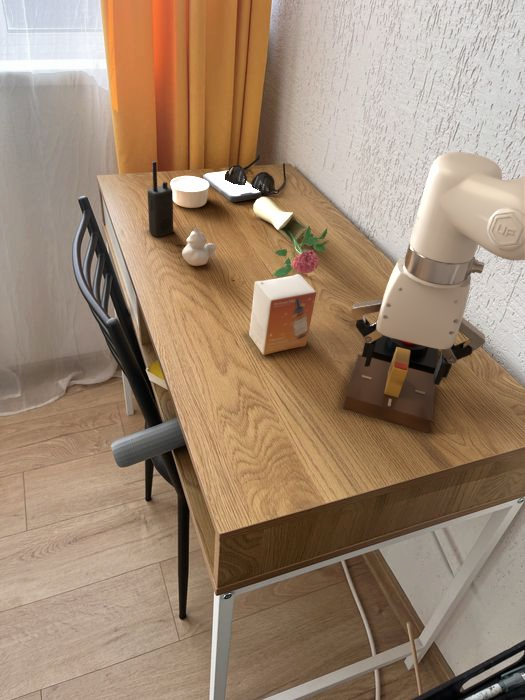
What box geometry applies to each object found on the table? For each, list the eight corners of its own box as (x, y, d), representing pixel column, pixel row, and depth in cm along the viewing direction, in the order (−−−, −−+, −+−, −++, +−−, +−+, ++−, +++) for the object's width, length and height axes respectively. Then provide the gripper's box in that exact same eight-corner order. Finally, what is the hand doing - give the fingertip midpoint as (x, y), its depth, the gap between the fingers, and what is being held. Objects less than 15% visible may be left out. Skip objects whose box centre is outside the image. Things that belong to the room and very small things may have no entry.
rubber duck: (179, 257, 103) (179, 219, 98) (212, 254, 105) (213, 217, 100) (185, 271, 99) (185, 233, 94) (219, 268, 101) (221, 230, 96)
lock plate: (431, 387, 80) (436, 374, 79) (427, 432, 73) (432, 419, 71) (354, 366, 83) (358, 353, 81) (342, 408, 75) (346, 395, 73)
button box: (435, 349, 88) (442, 330, 85) (432, 378, 82) (440, 359, 79) (376, 333, 90) (381, 314, 87) (369, 361, 84) (374, 342, 81)
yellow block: (388, 372, 78) (397, 345, 75) (401, 375, 78) (411, 348, 74) (384, 394, 74) (393, 366, 71) (398, 398, 74) (408, 370, 71)
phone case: (201, 179, 134) (231, 203, 124) (201, 173, 133) (232, 197, 123) (231, 175, 138) (263, 198, 128) (231, 169, 137) (263, 192, 127)
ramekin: (215, 199, 126) (216, 181, 123) (197, 212, 119) (198, 194, 116) (182, 190, 128) (182, 172, 125) (163, 203, 121) (163, 185, 118)
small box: (262, 356, 82) (269, 300, 76) (248, 335, 86) (253, 280, 79) (307, 346, 85) (317, 291, 79) (291, 326, 89) (299, 272, 82)
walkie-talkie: (165, 226, 113) (163, 155, 103) (175, 232, 111) (174, 161, 101) (146, 232, 110) (143, 160, 100) (156, 238, 108) (154, 166, 99)
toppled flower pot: (275, 250, 124) (336, 305, 95) (227, 237, 119) (276, 290, 90) (292, 201, 120) (361, 242, 91) (243, 185, 115) (300, 224, 86)
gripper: (509, 263, 64) (465, 369, 75) (370, 234, 68) (346, 339, 78) (513, 294, 59) (464, 403, 69) (361, 260, 62) (336, 370, 73)
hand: (401, 369), depth 74 cm, fingers open, 9 cm apart
